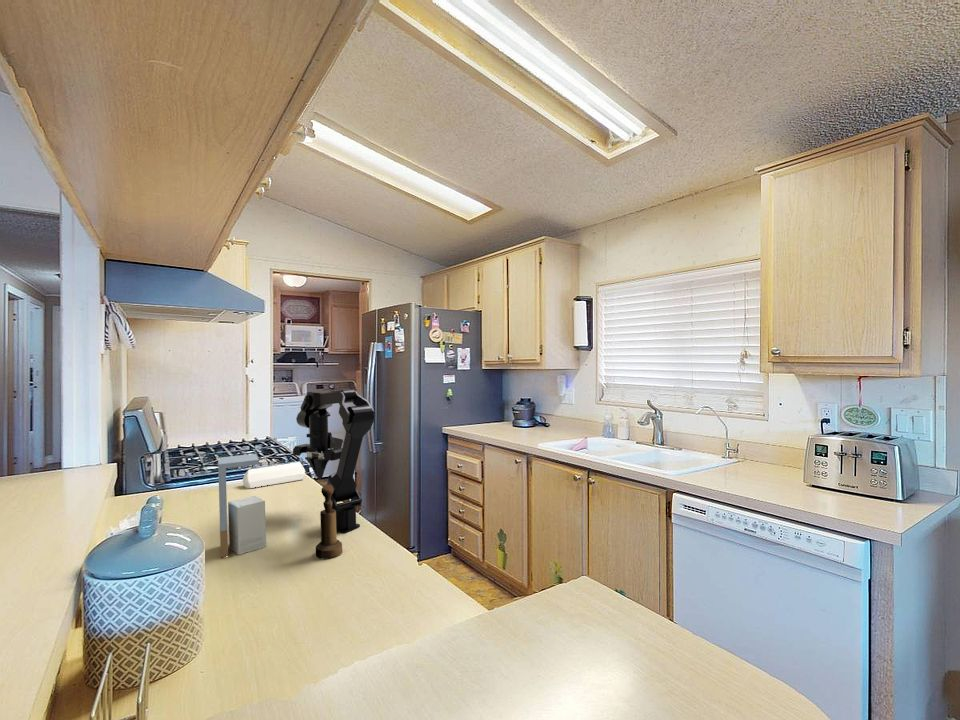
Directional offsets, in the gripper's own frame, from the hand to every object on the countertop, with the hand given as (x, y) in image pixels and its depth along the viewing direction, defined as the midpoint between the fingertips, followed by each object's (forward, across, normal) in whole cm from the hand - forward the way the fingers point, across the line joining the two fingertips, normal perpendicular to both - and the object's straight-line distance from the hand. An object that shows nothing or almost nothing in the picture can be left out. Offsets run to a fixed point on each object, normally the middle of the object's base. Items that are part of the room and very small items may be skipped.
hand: (319, 478), depth 154 cm
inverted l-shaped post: (+12, -1, +28) cm, 31 cm away
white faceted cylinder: (+12, +48, -19) cm, 53 cm away
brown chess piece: (+12, -25, +19) cm, 34 cm away
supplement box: (+12, -2, +27) cm, 29 cm away
